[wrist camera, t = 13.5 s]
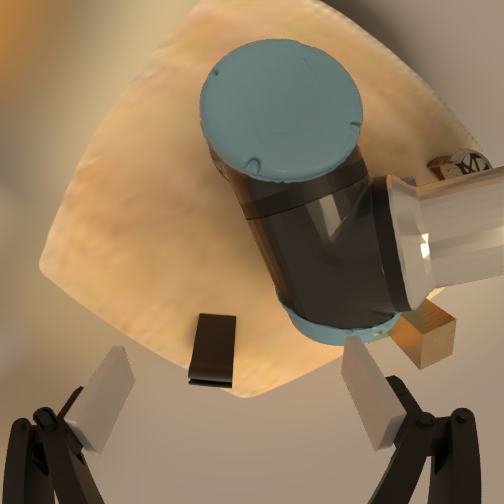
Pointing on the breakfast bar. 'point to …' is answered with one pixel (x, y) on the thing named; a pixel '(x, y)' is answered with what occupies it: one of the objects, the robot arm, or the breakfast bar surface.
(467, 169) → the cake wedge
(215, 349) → the phone stand
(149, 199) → the breakfast bar surface
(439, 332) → the wooden block
